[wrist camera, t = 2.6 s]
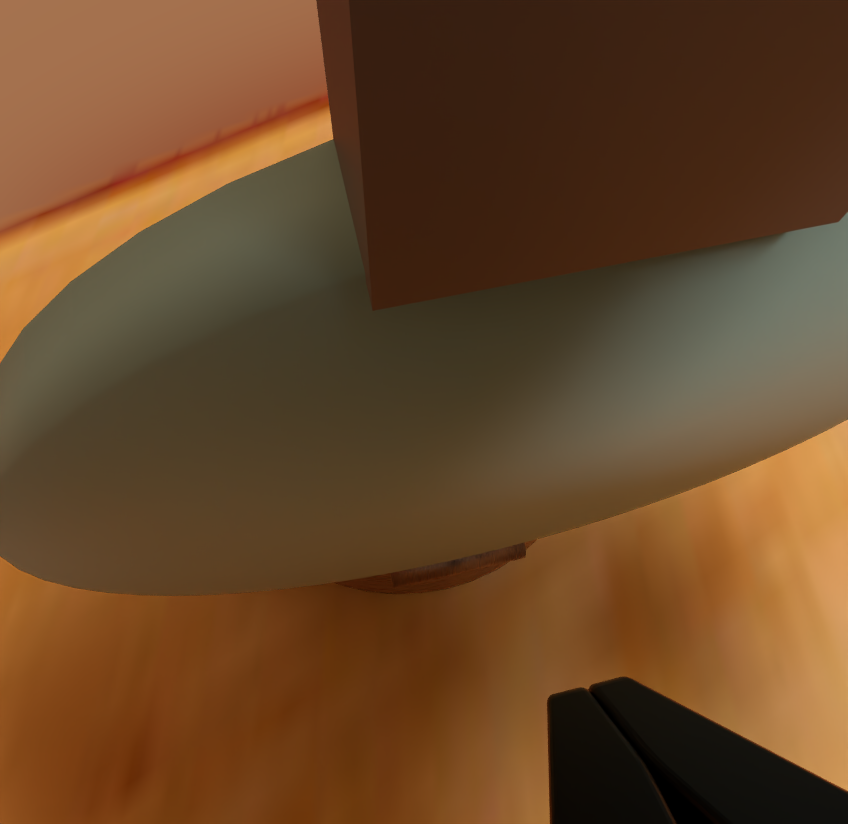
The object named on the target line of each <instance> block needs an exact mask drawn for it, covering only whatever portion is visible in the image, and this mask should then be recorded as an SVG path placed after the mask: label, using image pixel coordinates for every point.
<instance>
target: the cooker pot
mask: <svg viewBox="0 0 848 824" xmlns="http://www.w3.org/2000/svg"><path fill="white" fill-rule="evenodd" d="M536 540H537V539H536ZM536 540H532V541H528V542H524V543H520V544H517V545H513V546H509V547H505V548H501V549H498V550H493V551H489V552H485V553H481V554H477V555H473V556H469V557H464V558H460V559H456V560H451V561H446V562H442V563H437V564H433V565H428V566H423V567H418V568H413V569H408V570H403V571H398V572H393V573H388V574H382V575H376V576H371V577H365V578H359V579H353V580H346V581H340V582H335V583H337V584H340V585H343V586H347V587H351V588H356V589H360V590H364V591H369V592H380V593H391V594H405V593H424V592H430V591H435V590H441V589H447V588H451V587H454V586H457V585H460V584H464V583H467V582H470V581H473V580H475V579H477V578H480V577H482V576H484V575H486V574H488V573H491V572H493V571H495V570H497V569H498V568H500V567H502V566H503V565H505V564H506V563H508V562H510V561H513V560H518V559H522V558H525V555H526V549H527V548H528V547H529V546H530V545H532V544H533V543H534V542H535V541H536Z"/></svg>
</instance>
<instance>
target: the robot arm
mask: <svg viewBox="0 0 848 824" xmlns="http://www.w3.org/2000/svg"><path fill="white" fill-rule="evenodd" d="M547 719H548V763H549V806H550V824H848V791H846V790H844V789H843V788H841V787H839V786H837V785H835V784H833V783H831V782H829V781H827V780H825V779H823V778H821V777H819V776H818V775H816V774H814V773H812V772H810V771H808V770H806V769H804V768H802V767H800V766H798V765H796V764H795V763H793V762H791V761H789V760H787V759H785V758H783V757H781V756H779V755H777V754H775V753H773V752H772V751H770V750H768V749H766V748H764V747H762V746H760V745H758V744H756V743H754V742H752V741H750V740H748V739H747V738H745V737H743V736H741V735H739V734H737V733H735V732H733V731H731V730H729V729H727V728H725V727H724V726H722V725H720V724H718V723H716V722H714V721H712V720H710V719H708V718H706V717H704V716H702V715H701V714H699V713H697V712H695V711H693V710H691V709H689V708H687V707H685V706H683V705H681V704H679V703H677V702H676V701H674V700H672V699H670V698H668V697H666V696H664V695H662V694H660V693H658V692H656V691H654V690H653V689H651V688H649V687H647V686H645V685H643V684H641V683H639V682H637V681H635V680H633V679H631V678H628V677H619V678H615V679H611V680H607V681H603V682H599V683H595V684H593V685H591V686H590V687H589V689H588V690H587V689H585V688H576V689H572V690H568V691H564V692H560V693H556V694H552V695H550V697H549V698H548V700H547Z"/></svg>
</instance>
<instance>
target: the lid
mask: <svg viewBox="0 0 848 824" xmlns="http://www.w3.org/2000/svg"><path fill="white" fill-rule="evenodd" d="M316 1H317V9H318V17H319V25H320V33H321V41H322V49H323V57H324V66H325V74H326V82H327V90H328V98H329V106H330V114H331V122H332V131H333V140H330V141H328V142H326V143H323V144H321V145H318V146H316V147H314V148H311V149H309V150H307V151H304V152H302V153H299V154H297V155H295V156H292V157H290V158H288V159H285V160H283V161H280V162H278V163H276V164H273V165H271V166H269V167H266V168H264V169H261V170H259V171H257V172H254V173H252V174H250V175H247V176H245V177H242V178H240V179H238V180H235V181H233V182H231V183H228V184H226V185H225V186H223V187H221V188H219V189H217V190H215V191H214V192H212V193H210V194H208V195H206V196H204V197H203V198H201V199H199V200H197V201H195V202H194V203H192V204H190V205H188V206H186V207H184V208H183V209H181V210H179V211H177V212H175V213H174V214H172V215H170V216H168V217H166V218H164V219H163V220H161V221H159V222H157V223H155V224H154V225H152V226H150V227H148V228H146V229H144V230H143V231H141V232H139V233H138V234H136V235H135V236H134V237H132V238H131V239H129V240H128V241H127V242H125V243H124V244H122V245H121V246H120V247H118V248H117V249H116V250H114V251H113V252H111V253H110V254H109V255H107V256H106V257H104V258H103V259H102V260H100V261H99V262H97V263H96V264H95V265H93V266H92V267H91V268H89V269H88V270H86V271H85V272H84V273H82V274H81V275H79V276H78V277H77V278H75V279H74V280H73V281H71V282H70V283H69V284H68V285H67V286H66V287H65V288H64V289H63V290H62V291H61V292H60V293H59V294H58V295H57V296H56V297H55V298H54V299H53V300H52V301H51V302H50V303H49V304H48V305H47V306H46V307H45V308H44V309H43V310H42V311H41V312H40V313H39V314H38V315H37V316H36V317H35V318H34V319H33V320H32V321H31V322H30V323H29V324H28V325H27V326H26V327H24V328H23V330H22V331H21V333H20V334H19V336H18V337H17V339H16V340H15V342H14V343H13V345H12V347H11V348H10V350H9V351H8V353H7V354H6V356H5V357H4V359H3V360H2V362H1V363H0V556H1V557H2V558H4V559H5V560H7V561H8V562H9V563H11V564H12V565H13V566H15V567H16V568H18V569H19V570H21V571H24V572H26V573H28V574H31V575H33V576H36V577H38V578H40V579H43V580H45V581H49V582H53V583H57V584H61V585H65V586H69V587H73V588H79V589H86V590H92V591H99V592H106V593H118V594H132V595H159V596H188V595H217V594H233V593H248V592H259V591H269V590H279V589H288V588H296V587H304V586H312V585H320V584H327V583H333V582H340V581H346V580H353V579H359V578H365V577H371V576H376V575H382V574H388V573H393V572H398V571H403V570H408V569H413V568H418V567H423V566H428V565H433V564H437V563H442V562H446V561H451V560H456V559H460V558H464V557H469V556H473V555H477V554H481V553H485V552H489V551H493V550H498V549H501V548H505V547H509V546H513V545H517V544H520V543H524V542H528V541H532V540H536V539H539V538H543V537H546V536H550V535H553V534H557V533H560V532H564V531H567V530H571V529H574V528H577V527H581V526H584V525H587V524H590V523H594V522H597V521H600V520H603V519H607V518H610V517H613V516H616V515H619V514H622V513H625V512H628V511H631V510H634V509H637V508H640V507H643V506H646V505H649V504H651V503H654V502H657V501H660V500H663V499H666V498H668V497H671V496H674V495H677V494H680V493H682V492H685V491H688V490H690V489H693V488H696V487H698V486H701V485H703V484H706V483H709V482H711V481H714V480H716V479H719V478H721V477H724V476H726V475H729V474H731V473H734V472H736V471H739V470H741V469H743V468H746V467H748V466H751V465H753V464H755V463H758V462H760V461H762V460H764V459H767V458H769V457H771V456H773V455H776V454H778V453H780V452H783V451H785V450H787V449H789V448H791V447H793V446H795V445H798V444H800V443H802V442H804V441H806V440H808V439H810V438H812V437H814V436H816V435H818V434H821V433H823V432H825V431H826V430H828V429H830V428H832V427H834V426H836V425H838V424H840V423H842V422H844V421H846V420H848V0H316Z"/></svg>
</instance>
